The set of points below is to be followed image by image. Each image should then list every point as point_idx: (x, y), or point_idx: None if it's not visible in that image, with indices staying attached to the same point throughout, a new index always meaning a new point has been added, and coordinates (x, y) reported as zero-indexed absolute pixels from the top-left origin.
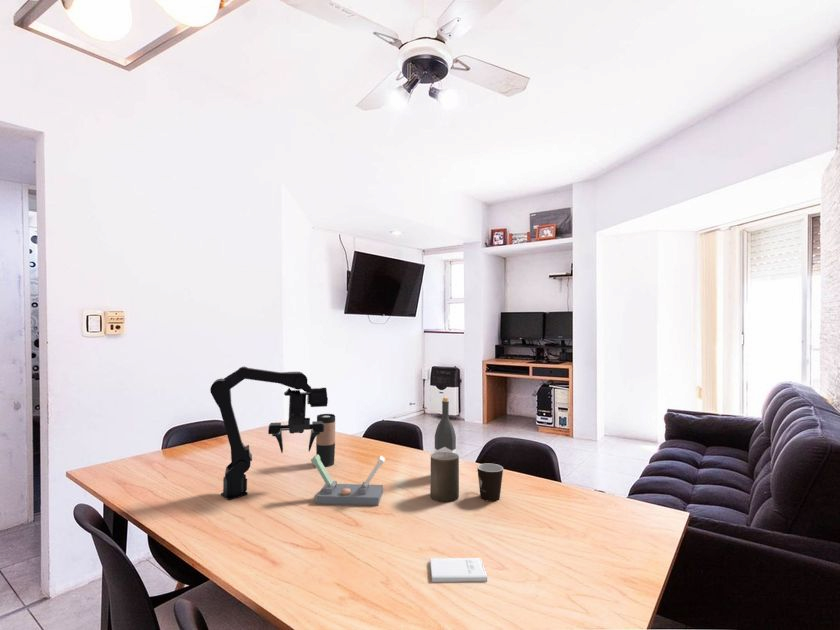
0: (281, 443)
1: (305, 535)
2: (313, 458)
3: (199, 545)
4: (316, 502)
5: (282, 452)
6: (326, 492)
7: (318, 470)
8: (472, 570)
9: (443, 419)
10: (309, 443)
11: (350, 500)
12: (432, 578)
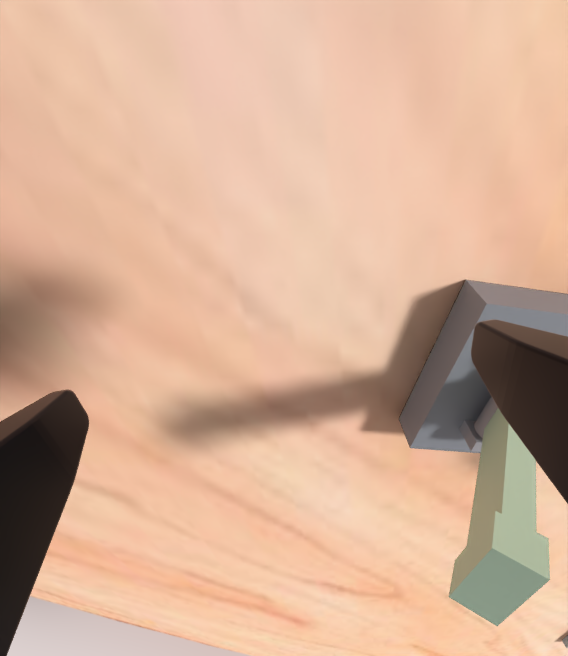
0: (18, 603)
1: (358, 564)
2: (478, 612)
3: (89, 592)
4: (401, 423)
5: (87, 427)
6: (464, 434)
7: (475, 511)
8: None
9: None
10: (554, 474)
11: None
12: (566, 646)
